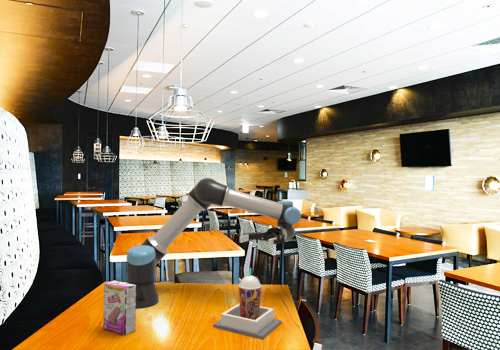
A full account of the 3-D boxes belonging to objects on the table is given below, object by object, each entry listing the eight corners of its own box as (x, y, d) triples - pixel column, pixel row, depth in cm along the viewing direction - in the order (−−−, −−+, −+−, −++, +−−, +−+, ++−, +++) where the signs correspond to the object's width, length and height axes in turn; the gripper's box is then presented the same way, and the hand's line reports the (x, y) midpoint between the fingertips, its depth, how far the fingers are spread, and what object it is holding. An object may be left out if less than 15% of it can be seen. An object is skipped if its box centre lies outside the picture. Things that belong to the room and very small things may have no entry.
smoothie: (258, 328, 130) (259, 271, 130) (235, 325, 131) (236, 270, 131) (262, 319, 138) (263, 266, 138) (240, 317, 139) (241, 264, 139)
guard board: (213, 327, 132) (213, 313, 132) (235, 313, 146) (235, 300, 147) (262, 339, 123) (262, 324, 123) (281, 323, 137) (281, 309, 137)
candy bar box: (102, 329, 129) (103, 283, 129) (113, 324, 133) (114, 279, 134) (125, 336, 124) (126, 288, 124) (136, 331, 128) (136, 284, 128)
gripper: (301, 246, 164) (281, 253, 146) (252, 240, 176) (228, 246, 158) (301, 229, 164) (282, 235, 146) (252, 224, 176) (229, 229, 158)
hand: (254, 241), depth 152 cm, fingers open, 13 cm apart
